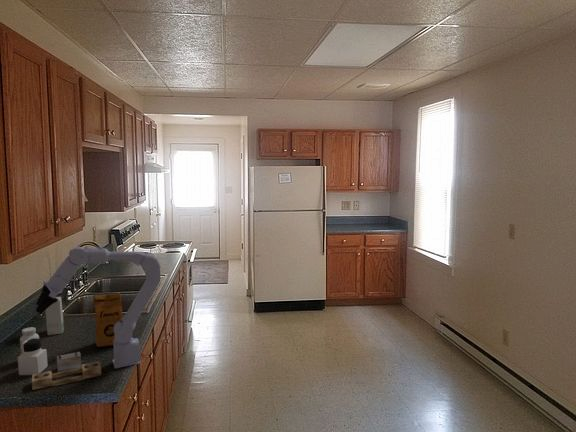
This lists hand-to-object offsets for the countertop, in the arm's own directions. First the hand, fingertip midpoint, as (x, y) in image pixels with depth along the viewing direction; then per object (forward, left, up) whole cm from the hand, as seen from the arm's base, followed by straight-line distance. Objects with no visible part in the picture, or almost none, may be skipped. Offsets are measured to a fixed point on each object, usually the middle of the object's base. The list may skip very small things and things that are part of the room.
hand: (38, 308), depth 159 cm
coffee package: (-25, -21, -26) cm, 42 cm away
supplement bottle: (+4, -19, -26) cm, 33 cm away
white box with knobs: (-8, -4, -26) cm, 28 cm away
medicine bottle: (+4, -8, -26) cm, 28 cm away
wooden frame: (-7, +5, -26) cm, 28 cm away
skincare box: (-4, -49, -26) cm, 56 cm away
